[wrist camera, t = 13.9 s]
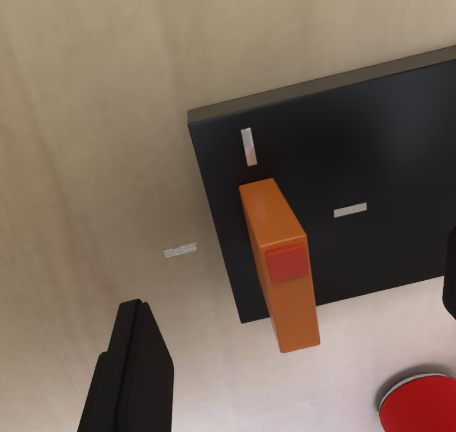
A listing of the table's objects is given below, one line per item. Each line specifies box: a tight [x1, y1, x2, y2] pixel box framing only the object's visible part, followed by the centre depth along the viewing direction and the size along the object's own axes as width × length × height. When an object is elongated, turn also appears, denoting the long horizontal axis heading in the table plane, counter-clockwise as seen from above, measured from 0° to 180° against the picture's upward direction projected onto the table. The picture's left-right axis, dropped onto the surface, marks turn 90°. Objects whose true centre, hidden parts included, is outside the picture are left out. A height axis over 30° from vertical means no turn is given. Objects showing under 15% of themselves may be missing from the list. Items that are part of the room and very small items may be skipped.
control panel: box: [163, 46, 456, 324], centre depth 16 cm, size 14×10×3 cm
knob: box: [239, 178, 320, 353], centre depth 13 cm, size 4×1×5 cm, turn 12°
